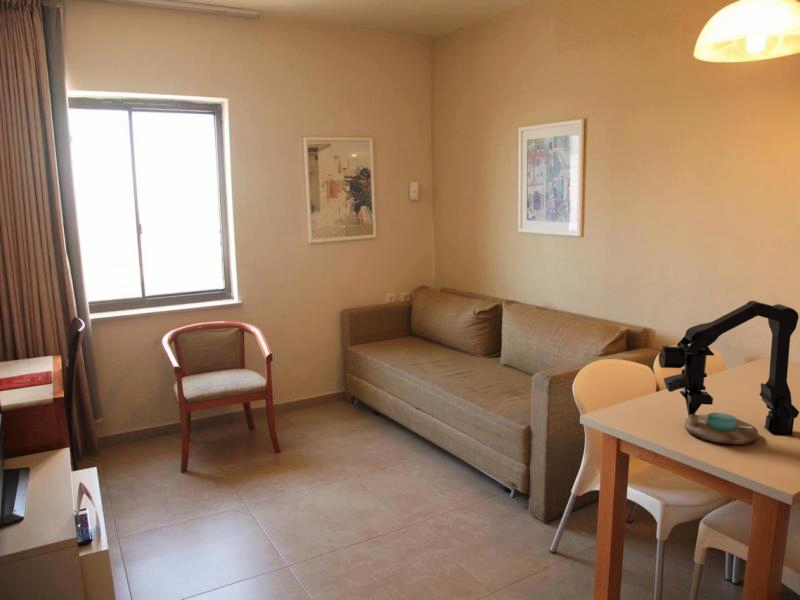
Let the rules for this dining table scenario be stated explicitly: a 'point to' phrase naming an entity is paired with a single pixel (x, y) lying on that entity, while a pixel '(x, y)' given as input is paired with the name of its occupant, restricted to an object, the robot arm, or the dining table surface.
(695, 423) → the disc
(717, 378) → the dining table surface
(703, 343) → the robot arm
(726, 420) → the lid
